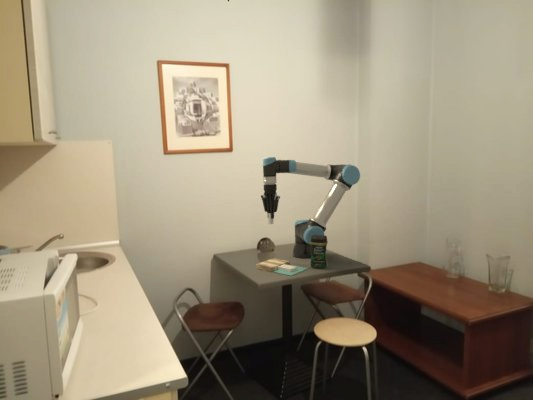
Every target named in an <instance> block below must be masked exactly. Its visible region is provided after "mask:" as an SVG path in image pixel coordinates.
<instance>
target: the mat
mask: <svg viewBox="0 0 533 400" xmlns="http://www.w3.org/2000/svg"><path fill="white" fill-rule="evenodd" d="M290 265H291V266H294V265H292V264H290ZM295 266H296V267H297V270H294V271H292V272H288V271H283V270H275V271H273V272H272V273H276V274H280V275H285V276H288V275H289V276H290V277H293V276H295V275H297V274H299V273H302V272H305V271H306V270H309V268H307V267H301V266H298V265H295Z"/></svg>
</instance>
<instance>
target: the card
mask: <svg viewBox="0 0 533 400" xmlns="http://www.w3.org/2000/svg"><path fill="white" fill-rule="evenodd" d="M291 265H292V264H289V265H286V264H283V265H281V266H278V270H283V271H288V272H292V271H294V270H297V267H296V266H297V265H293V266H291Z"/></svg>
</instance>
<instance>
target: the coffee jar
mask: <svg viewBox="0 0 533 400" xmlns="http://www.w3.org/2000/svg"><path fill="white" fill-rule="evenodd" d="M327 236H328V235H324V236H323V235H312V236H311V242H310V243H311V246H312V254H311V258H310V267H311V268H313V269H326V268H328V253H327V246H328V237H327Z"/></svg>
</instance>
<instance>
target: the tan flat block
mask: <svg viewBox="0 0 533 400" xmlns="http://www.w3.org/2000/svg"><path fill="white" fill-rule="evenodd" d="M283 264H286V265H290V261H289V260H285V259H279V258H270V259H267V260H264V261H262V262H259V263H256V264H255V269H256V270H262V271H265V272H266V271H267V272H271V273H274V272H273V271H275V270H278V266H281V265H283Z"/></svg>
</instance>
